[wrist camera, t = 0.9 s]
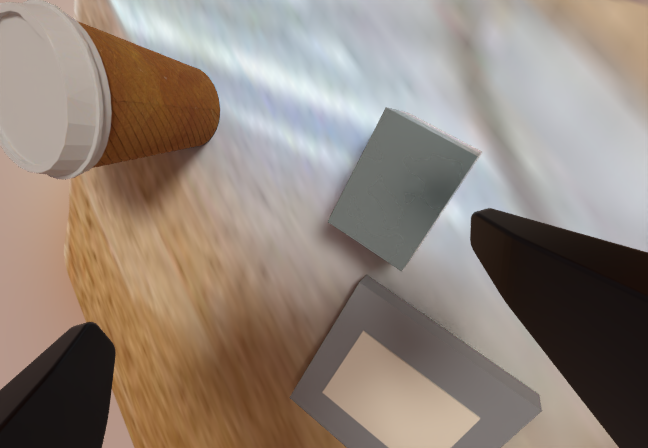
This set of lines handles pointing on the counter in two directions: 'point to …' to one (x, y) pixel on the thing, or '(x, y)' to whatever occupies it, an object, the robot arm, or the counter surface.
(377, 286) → the stand
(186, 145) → the disposable coffee cup
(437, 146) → the block
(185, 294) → the counter surface
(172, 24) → the counter surface
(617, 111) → the counter surface
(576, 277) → the robot arm
